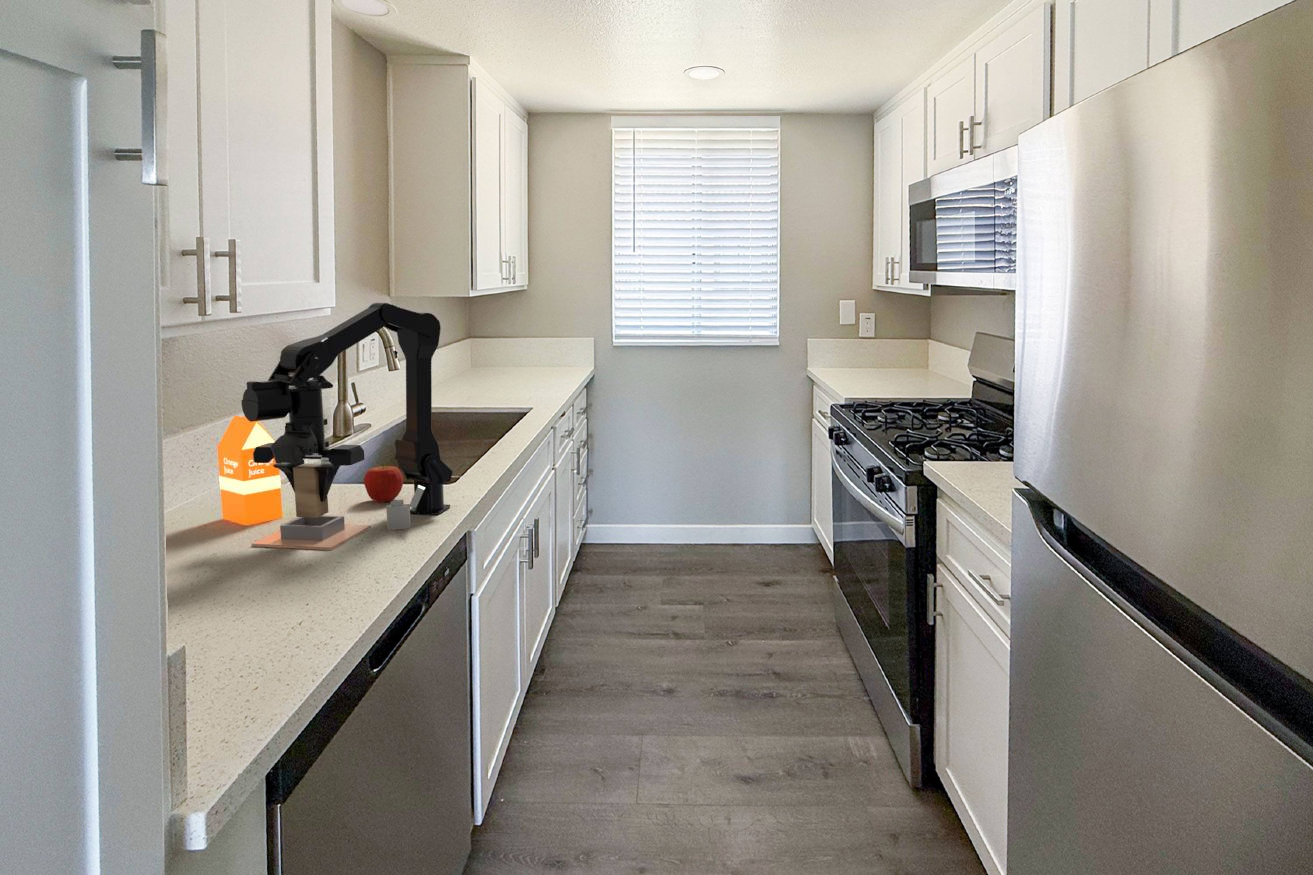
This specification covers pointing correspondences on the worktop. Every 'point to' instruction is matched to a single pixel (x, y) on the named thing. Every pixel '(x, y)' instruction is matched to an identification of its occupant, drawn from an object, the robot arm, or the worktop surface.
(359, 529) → the block holder
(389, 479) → the apple
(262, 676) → the worktop surface
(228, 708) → the worktop surface
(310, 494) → the wooden block
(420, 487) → the lighter
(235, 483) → the orange juice
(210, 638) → the worktop surface
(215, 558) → the worktop surface
